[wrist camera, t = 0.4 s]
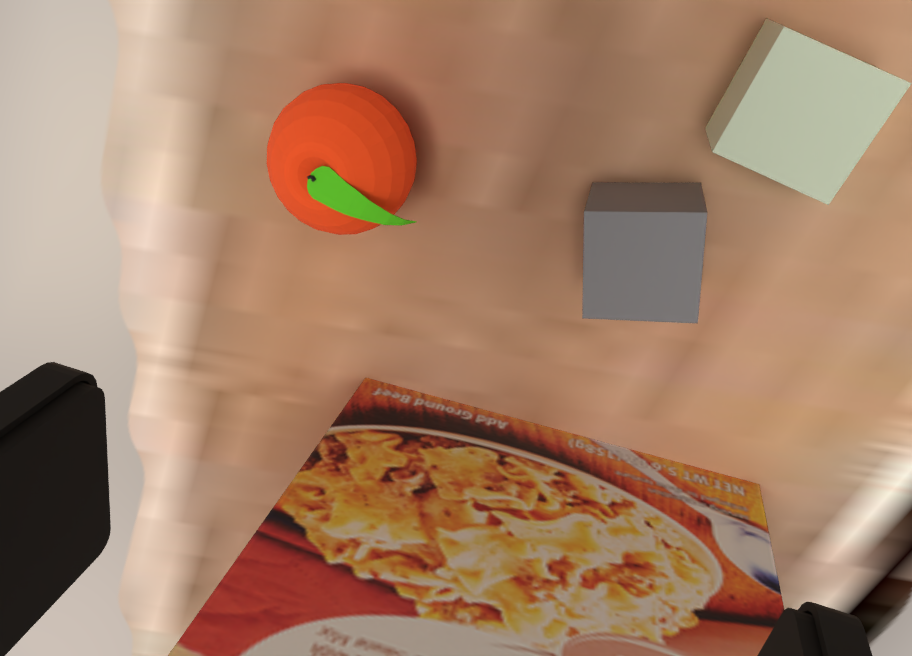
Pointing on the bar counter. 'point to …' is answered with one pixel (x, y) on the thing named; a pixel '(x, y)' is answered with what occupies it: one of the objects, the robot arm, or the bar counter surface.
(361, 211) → the clementine
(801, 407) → the bar counter surface
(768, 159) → the sage block
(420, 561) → the pasta box
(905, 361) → the bar counter surface
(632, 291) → the charcoal block
